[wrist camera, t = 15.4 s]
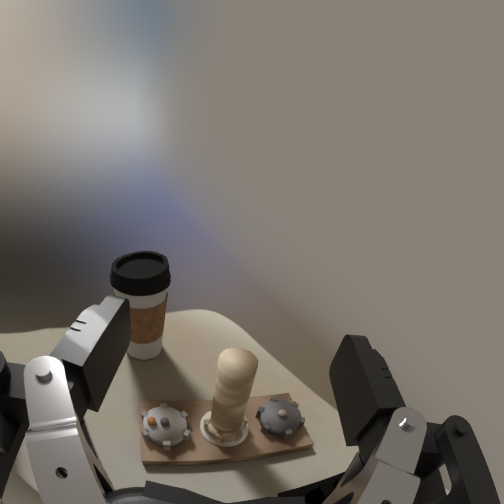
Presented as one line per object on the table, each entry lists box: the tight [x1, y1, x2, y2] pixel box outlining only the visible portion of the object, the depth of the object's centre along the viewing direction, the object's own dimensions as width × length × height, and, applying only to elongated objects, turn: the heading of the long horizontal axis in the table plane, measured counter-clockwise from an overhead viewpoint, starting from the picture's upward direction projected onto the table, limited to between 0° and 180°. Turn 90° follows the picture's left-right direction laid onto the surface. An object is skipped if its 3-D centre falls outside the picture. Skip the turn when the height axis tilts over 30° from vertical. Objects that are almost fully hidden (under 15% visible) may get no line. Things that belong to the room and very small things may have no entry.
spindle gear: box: [203, 348, 258, 443], centre depth 27 cm, size 5×5×12 cm
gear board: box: [140, 393, 312, 465], centre depth 29 cm, size 20×9×3 cm, turn 105°
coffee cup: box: [110, 251, 171, 360], centre depth 38 cm, size 8×8×15 cm
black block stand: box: [278, 472, 345, 504], centre depth 20 cm, size 12×7×5 cm, turn 107°
